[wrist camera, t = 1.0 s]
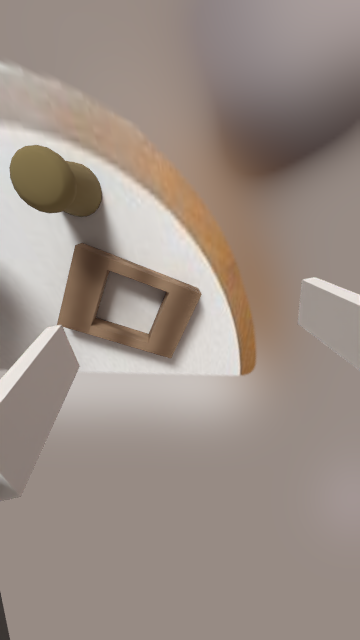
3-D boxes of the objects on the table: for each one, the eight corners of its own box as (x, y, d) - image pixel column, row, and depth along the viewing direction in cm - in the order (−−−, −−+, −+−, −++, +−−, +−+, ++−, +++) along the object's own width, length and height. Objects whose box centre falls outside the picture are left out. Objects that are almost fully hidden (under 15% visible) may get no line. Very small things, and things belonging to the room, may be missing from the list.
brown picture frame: (64, 316, 36) (57, 324, 33) (82, 242, 31) (75, 245, 29) (169, 348, 40) (170, 358, 37) (198, 288, 36) (201, 294, 33)
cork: (96, 223, 30) (67, 229, 21) (48, 205, 29) (-7, 201, 19) (106, 175, 28) (80, 154, 18) (55, 153, 27) (-3, 117, 17)
